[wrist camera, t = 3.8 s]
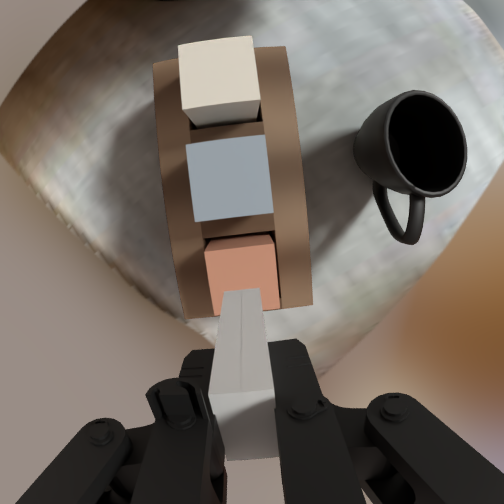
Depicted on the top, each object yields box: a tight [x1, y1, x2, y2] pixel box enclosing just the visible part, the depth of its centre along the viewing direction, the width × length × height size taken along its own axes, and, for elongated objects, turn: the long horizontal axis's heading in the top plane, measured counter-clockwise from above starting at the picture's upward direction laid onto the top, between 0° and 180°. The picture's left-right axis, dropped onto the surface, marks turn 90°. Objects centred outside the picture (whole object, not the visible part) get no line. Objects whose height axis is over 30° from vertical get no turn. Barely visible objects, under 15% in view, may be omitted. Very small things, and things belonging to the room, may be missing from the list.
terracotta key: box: [204, 231, 280, 316], centre depth 23 cm, size 4×4×7 cm
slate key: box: [186, 135, 274, 222], centre depth 19 cm, size 4×4×7 cm
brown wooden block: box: [153, 46, 313, 319], centre depth 24 cm, size 20×10×7 cm, turn 6°
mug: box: [353, 90, 467, 245], centre depth 23 cm, size 8×12×10 cm
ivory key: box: [178, 36, 261, 129], centre depth 18 cm, size 4×4×7 cm
